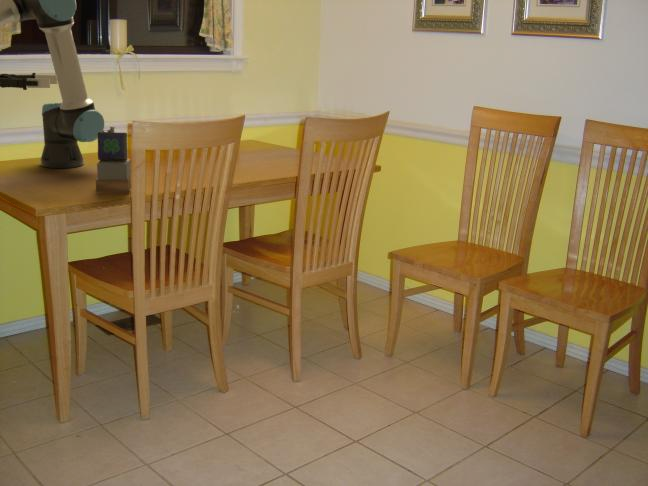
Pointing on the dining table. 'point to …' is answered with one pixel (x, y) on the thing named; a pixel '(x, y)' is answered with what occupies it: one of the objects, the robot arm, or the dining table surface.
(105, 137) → the flask
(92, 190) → the dining table surface
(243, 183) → the dining table surface
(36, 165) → the dining table surface
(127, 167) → the tower top
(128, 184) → the tower base
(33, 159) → the dining table surface
